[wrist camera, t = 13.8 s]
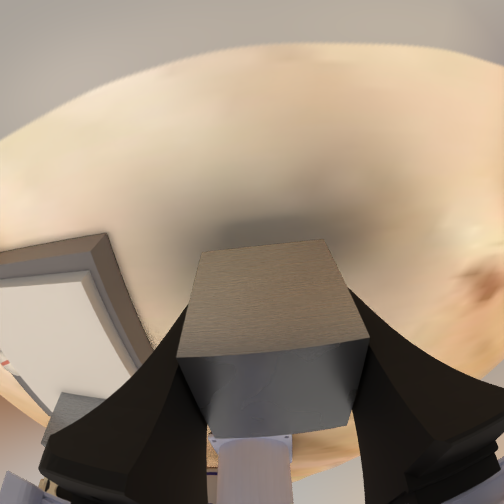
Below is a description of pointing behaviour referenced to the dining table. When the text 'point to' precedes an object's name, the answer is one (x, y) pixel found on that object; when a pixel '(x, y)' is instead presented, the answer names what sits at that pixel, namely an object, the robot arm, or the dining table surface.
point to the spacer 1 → (69, 412)
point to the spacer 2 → (272, 341)
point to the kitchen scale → (68, 320)
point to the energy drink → (212, 485)
